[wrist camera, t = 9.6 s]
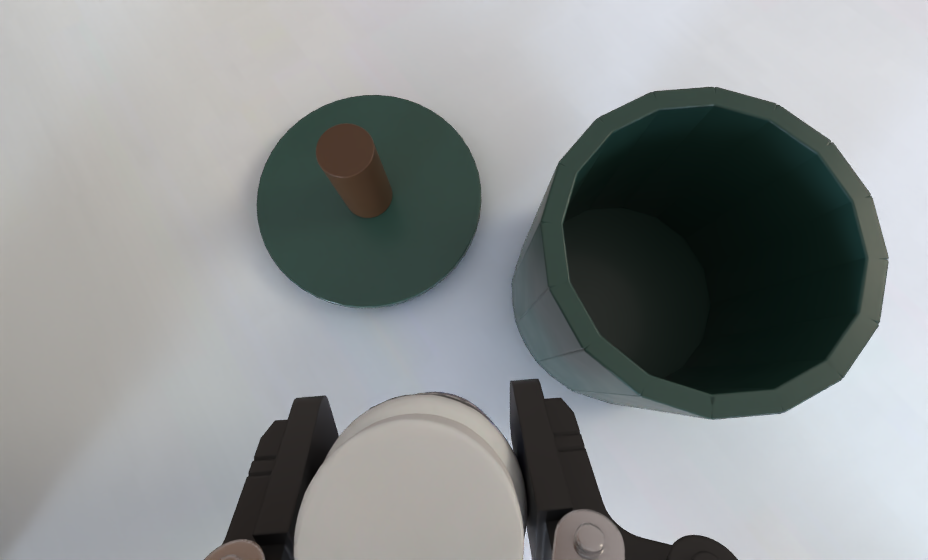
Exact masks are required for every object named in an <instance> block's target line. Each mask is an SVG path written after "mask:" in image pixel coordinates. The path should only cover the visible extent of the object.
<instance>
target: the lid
mask: <svg viewBox="0 0 928 560" xmlns="http://www.w3.org/2000/svg"><path fill="white" fill-rule="evenodd" d="M480 208H481V185H480V179H479V173H478V170H477V167H476V164H475V161H474V159H473V157H472V154H471V152H470V150H469V148H468V147H467V145H466V144H465V142H464V141H463V139H462V138H461V136H460V135H459V134H458V133H457V132H456V131H455V129H454V128H453V127H452V126H451V125H450V124H448V123H447V122H446V121H445V120H444V119H443V118H441V117H440V116H438V115H437V114H436V113H434V112H433V111H431V110H429V109H427V108H425V107H423V106H421V105H419V104H417V103H414V102H411V101H408V100H405V99H401V98H397V97H392V96H382V95H363V96H356V97H350V98H346V99H342V100H338V101H335V102H332V103H330V104H327V105H325V106H322V107H321V108H319V109H317V110H315V111H313V112H311V113H310V114H308V115H307V116H305V117H304V118H302V119H301V120H300V121H298V122H297V123H296V124H295V125H294V126H293V127H292V128H290V129H289V130H288V131H287V133H286V134H285V135H284V136H283V137H282V138H281V139H280V141H279V142H278V143H277V145H276V146H275V148H274V149H273V151H272V152H271V154H270V156H269V158H268V160H267V162H266V164H265V167H264V170H263V172H262V175H261V178H260V183H259V188H258V195H257V216H258V223H259V228H260V232H261V235H262V238H263V241H264V244H265V246H266V248H267V250H268V252H269V254H270V256H271V257H272V259H273V260H274V262H275V263H276V264H277V266H278V267H279V269H280V270H281V271H282V272H283V273H284V274H285V275H286V276H287V277H288V278H289V279H290V280H291V281H292V282H294V283H295V284H296V285H298V286H299V287H300V288H302V289H303V290H305V291H307V292H308V293H310V294H312V295H314V296H315V297H317V298H320V299H322V300H325V301H327V302H330V303H333V304H337V305H341V306H345V307H353V308H380V307H386V306H392V305H396V304H399V303H403V302H406V301H408V300H411V299H413V298H415V297H418V296H420V295H422V294H423V293H425V292H427V291H428V290H430V289H432V288H433V287H434V286H436V285H437V284H438V283H440V282H441V281H442V280H444V279H445V278H446V277H447V276H448V275H449V274H450V273H451V272H452V271H453V270H454V269H455V267H456V266H457V265H458V263H459V262H460V261H461V260H462V258H463V257H464V255H465V253H466V252H467V250H468V248H469V246H470V245H471V242H472V240H473V237H474V235H475V232H476V229H477V225H478V221H479V217H480Z"/></svg>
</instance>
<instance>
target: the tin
mask: <svg viewBox="0 0 928 560" xmlns="http://www.w3.org/2000/svg"><path fill="white" fill-rule="evenodd" d="M870 195H871V194H870V192H869V191H868V190H867V188H866V187H865V186H864V184H863V183H862V181H861V180H860V179H859V177H858V176H857V175H856V173H855V172H854V170H853V169H852V168H851V166H850V165H849V164H848V162H847V161H846V159H845V158H844V157H843V155H842V154H841V153H840V151H839V150H838V149H837V147H836V146H835V144H834V143H833V142H832V143H831V141H830V140H829V139H828V138H826V137H825V136H824V135H822V134H821V133H819V132H818V131H816V130H815V129H813V128H812V127H810V126H809V125H807V124H806V123H805V122H803V121H802V120H800V119H799V118H797V117H796V116H794V115H793V114H791V113H790V112H789V111H787V110H786V109H784V108H783V107H781V106H780V105H776V103H773V102H769V101H766V100H762V99H758V98H755V97H751V96H747V95H744V94H740V93H737V92H733V91H729V90H726V89H722V88H718V87H715V88H714V87H703V88H690V89H677V90H664V91H654V92H650V93H648V94H646V95H644V96H642V97H640V98H638V99H636V100H633V101H631V102H629V103H627V104H625V105H623V106H621V107H619V108H617V109H615V110H613V111H611V112H609V113H607V114H605V115H603V116H600V117H599V118H597V119H596V120H595V121H594V122H593V123H592V124H591V126H590V127H589V128H588V129H587V130H586V131H585V132H584V134H583V135H582V136H581V137H580V138H579V139H578V141H577V142H576V143H575V144H574V145H573V146H572V147H571V149H570V150H569V151H568V152H567V153H566V154H565V156H564V157H563V158H562V159H561V160H560V161H559V163H558V165H557V167H556V169H555V172H554V174H553V176H552V179H551V181H550V183H549V186H548V188H547V190H546V193H545V195H544V197H543V200H542V202H541V204H540V207H539V209H538V211H537V214H536V216H535V218H534V221H533V223H532V225H531V228H530V230H529V232H528V235H527V237H526V239H525V242H524V244H523V247H522V250H521V253H520V256H519V260H518V263H517V265H516V269H515V273H514V276H513V279H512V300H513V309H514V315H515V320H516V323H517V327H518V329H519V332H520V334H521V336H522V338H523V341H524V343H525V345H526V346H527V348H528V349H529V351H530V353H531V354H532V356H533V357H534V358H535V360H536V361H537V362H538V364H540V366H541V367H542V368H543V369H545V370H546V371H547V372H548V373H549V374H550V375H551V376H552V377H553V378H555V379H556V380H558V381H559V382H560V383H562V384H563V385H565V386H566V387H567V388H568V389H571V391H574V392H577V393H580V394H583V395H586V396H588V397H592V398H596V399H599V400H602V401H605V402H608V403H612V404H618V405H624V406H630V407H636V408H643V409H649V410H655V411H661V412H668V413H674V414H680V415H686V416H692V417H699V418H705V419H713V420H714V419H726V418H737V417H749V416H760V415H772V414H781V413H785V412H786V411H788V410H790V409H792V408H793V407H795V406H797V405H799V404H800V403H802V402H804V401H806V400H807V399H809V398H811V397H813V396H814V395H816V394H818V393H820V392H821V391H823V390H825V389H827V388H828V387H830V386H832V385H834V384H835V383H837V382H839V381H841V380H842V378H843V377H844V376H845V375H846V373H847V372H848V371H849V369H850V368H851V366H852V365H853V363H854V362H855V360H856V359H857V357H858V356H859V354H860V353H861V351H862V350H863V348H864V347H865V345H866V344H867V342H868V341H869V339H870V338H871V336H872V335H873V333H874V332H875V331H876V329H877V328H878V326H879V325H878V323H879V322H880V317H881V310H882V304H883V297H884V290H885V283H886V276H887V269H888V263H889V262H888V260H887V259H888V258H889V257H888V253H887V250H886V246H885V242H884V239H883V235H882V231H881V228H880V224H879V220H878V216H877V213H876V209H875V205H874V202H873V198H872V197H871V196H870Z"/></svg>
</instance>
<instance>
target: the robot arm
mask: <svg viewBox="0 0 928 560" xmlns="http://www.w3.org/2000/svg"><path fill="white" fill-rule="evenodd" d="M510 429H511V439H512V445H513V451H514V454H515V455H516V457H517V459H518V462H519V465H520V468H521V471H522V474H523V478H524V483H525V488H526V496H527V524H526V526H527V532H528V537H529V543H530V549H531V555H532V560H738V559H737V558H736V557H735V556H734V555H733V554H732V553H731V552H730V551H729V550H728V549H727V548H726V547H724V546H723V545H722V544H720V543H719V542H717V541H715V540H713V539H710V538H708V537H704V536H700V535H688V536H684V537H682V538H680V539H678V540H677V541H676V542H674V544H673V545H669V544H665V543H661V542H657V541H653V540H649V539H645V538H641V537H638V536H635V535H633V534H631V533H629V532H627V531H626V530H624V529H623V528H621V527H620V526H619V525H618V524H617V523H616V522H615V521H614V520H613V519H612V518H611V517H610V515H609V514H608V512H607V511H606V509H605V506H604V504H603V501H602V498H601V495H600V492H599V489H598V486H597V483H596V480H595V477H594V473H593V470H592V467H591V464H590V461H589V458H588V455H587V452H586V449H585V447H584V443H583V439H582V436H581V434H580V430H579V427H578V424H577V421H576V418H575V415H574V412H573V411H572V410H571V409H570V408H569V406H568V405H567V404H566V403H565V402H564V401H563V400H562V398H550V399H544V396H543V392H542V389H541V385H540V382H539V380H538V379H529V380H516V381H510ZM338 437H339V436H338V432H337V428H336V425H335V422H334V418H333V415H332V411H331V408H330V405H329V401H328V398H327V397H326V396H314V397H302V398H296V399H295V400H294V402H293V404H292V408H291V411H290V414H289V417H288V420H277V421H274V423H273V424H272V425H271V426H270V427H269V429H268V430H267V431H266V432H265V434H264V435H263V436H262V437H261V439H260V442H259V445H258V447H257V450H256V453H255V456H254V461H253V462H252V464H251V467H250V470H249V476H248V477H247V479H246V481H245V484H244V487H243V490H242V493H241V495H240V498H239V501H238V504H237V507H236V510H235V512H234V515H233V518H232V521H231V524H230V526H229V529H228V532H227V535H226V537H225V540H224V542H223V544H222V545H221V546H220V547H218V548H216V549H215V550H214V551H213V552H211V553H210V554H209V555H208V556H207V557H206V558H205V559H204V560H294V534H295V527H296V522H297V517H298V513H299V509H300V506H301V503H302V500H303V497H304V494H305V492H306V490H307V488H308V486H309V484H310V482H311V481H312V479H313V477H314V476H315V474H316V472H317V471H318V469H319V468H320V466H321V465H322V464H323V462H324V460H325V458H326V456H327V454H328V452H329V451H330V449H331V448H332V446H333V444H334V443H335V442H336V440H337V439H338Z"/></svg>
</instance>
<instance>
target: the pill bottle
mask: <svg viewBox="0 0 928 560" xmlns="http://www.w3.org/2000/svg"><path fill="white" fill-rule="evenodd" d="M526 524H527V496H526V488H525V483H524V478H523V474H522V471H521V468H520V465H519V462H518V459H517V457H516V455H515V454H514V452H513V450H512V448H511V446H510V445H509V443H508V442H507V440H506V438H505V437H504V436H503V434H502V433H501V432H500V431H499V429H498V428H497V427H496V426H495V425H494V424H493V422H492V421H491V420H490V419H489V418H488V417H487V416H486V415H485V414H484V413H483V412H482V411H481V410H480V409H479V408H478V407H477V406H475V405H474V404H473V403H471V402H470V401H468V400H466V399H464V398H462V397H459V396H456V395H453V394H449V393H443V392H427V393H418V394H414V395H404V396H400V397H395V398H392V399H390V400H387V401H385V402H383V403H381V404H378V405H376V406H374V407H372V408H370V409H369V410H368V411H366V412H365V413H364V414H362V415H361V416H359V417H358V418H357V419H355V420H354V421H353V422H352V423H351V424H350V425H349V426H348V427H347V428H346V429H345V430H344V431H343V433H342V434H341V435H340V436H339V437H338V439H337V440H336V442H335V443H334V444H333V446H332V448H331V449H330V451H329V452H328V454H327V456H326V458H325V460H324V462H323V464H322V465H321V466H320V468H319V469H318V471H317V472H316V474H315V476H314V477H313V479H312V481H311V482H310V484H309V486H308V488H307V490H306V492H305V494H304V497H303V500H302V503H301V506H300V509H299V513H298V517H297V522H296V527H295V534H294V560H523V553H524V536H525V531H526Z"/></svg>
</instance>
